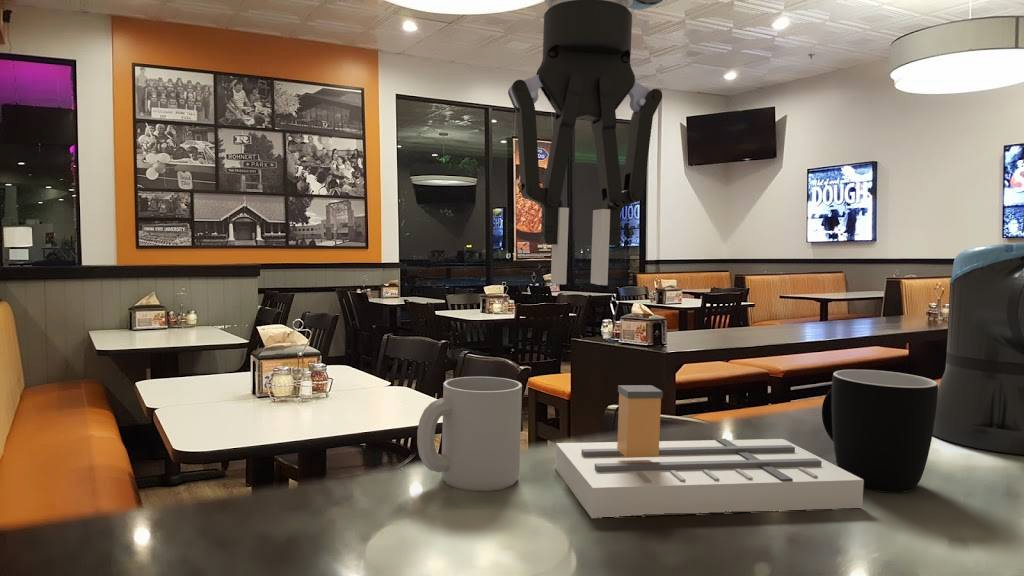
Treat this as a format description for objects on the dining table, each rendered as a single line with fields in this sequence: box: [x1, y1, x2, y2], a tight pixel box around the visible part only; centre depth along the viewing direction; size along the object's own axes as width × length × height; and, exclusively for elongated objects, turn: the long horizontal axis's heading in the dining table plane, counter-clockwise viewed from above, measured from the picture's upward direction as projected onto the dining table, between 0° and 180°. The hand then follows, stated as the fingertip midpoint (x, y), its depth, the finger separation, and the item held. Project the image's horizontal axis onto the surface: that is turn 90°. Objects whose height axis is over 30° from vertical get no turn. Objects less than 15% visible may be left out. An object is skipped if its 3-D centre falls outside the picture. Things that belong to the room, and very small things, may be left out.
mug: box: [821, 369, 939, 494], centre depth 71 cm, size 12×9×10 cm
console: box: [554, 438, 864, 519], centre depth 67 cm, size 24×13×3 cm, turn 100°
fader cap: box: [616, 384, 664, 458], centre depth 66 cm, size 3×3×6 cm
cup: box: [416, 376, 523, 492], centre depth 67 cm, size 7×10×9 cm
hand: (578, 283), depth 64 cm, fingers open, 3 cm apart
